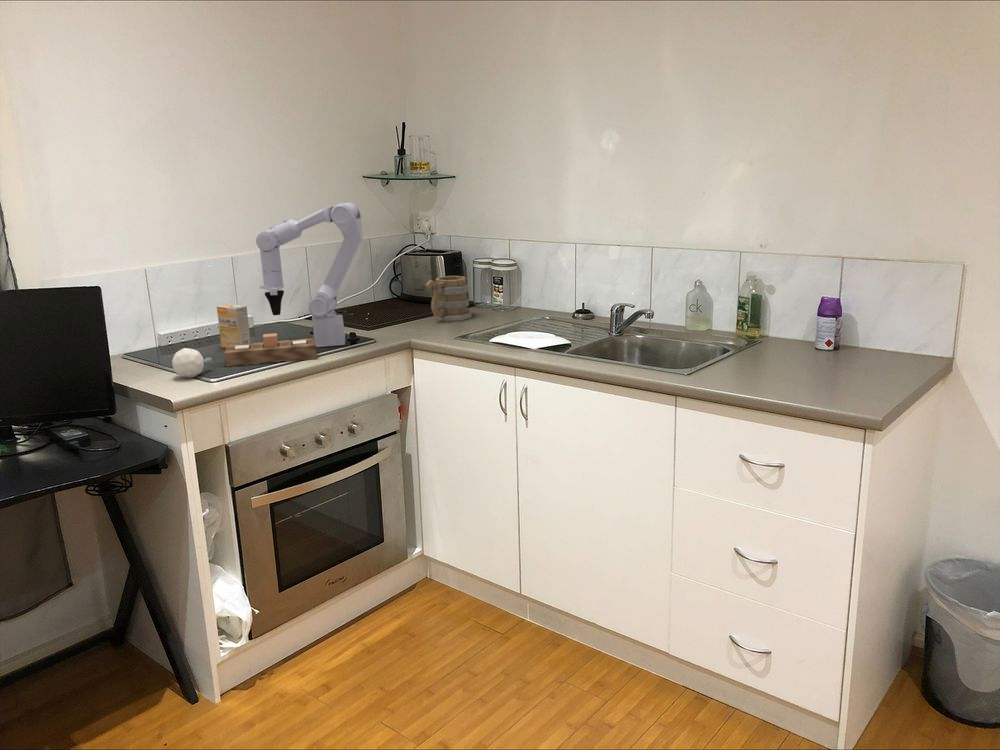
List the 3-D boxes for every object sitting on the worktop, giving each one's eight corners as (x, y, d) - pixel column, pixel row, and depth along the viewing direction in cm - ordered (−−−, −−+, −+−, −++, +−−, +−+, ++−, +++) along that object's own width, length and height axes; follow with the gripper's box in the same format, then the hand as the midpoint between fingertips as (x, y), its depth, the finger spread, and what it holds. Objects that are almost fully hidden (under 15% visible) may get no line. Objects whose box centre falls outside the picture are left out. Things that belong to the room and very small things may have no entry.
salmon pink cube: (278, 345, 235) (276, 333, 234) (278, 348, 232) (276, 335, 231) (264, 346, 234) (263, 334, 233) (264, 349, 231) (262, 337, 230)
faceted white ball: (160, 365, 215) (194, 360, 226) (179, 386, 213) (213, 379, 224) (172, 343, 212) (206, 339, 223) (191, 363, 210) (225, 358, 221)
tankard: (450, 312, 293) (448, 271, 288) (477, 316, 285) (476, 273, 281) (413, 323, 277) (410, 279, 273) (441, 326, 270) (439, 282, 266)
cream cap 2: (307, 352, 238) (305, 339, 237) (307, 355, 234) (306, 342, 233) (293, 353, 237) (292, 341, 236) (294, 356, 233) (292, 343, 232)
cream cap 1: (250, 357, 234) (249, 344, 233) (250, 360, 231) (248, 347, 230) (236, 358, 233) (235, 345, 232) (236, 361, 230) (234, 348, 229)
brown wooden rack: (315, 351, 242) (314, 337, 240) (317, 358, 232) (316, 345, 231) (228, 358, 236) (226, 345, 235) (226, 366, 226) (224, 353, 225)
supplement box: (220, 348, 249) (215, 306, 245) (232, 344, 253) (227, 303, 250) (240, 350, 245) (235, 307, 242) (252, 347, 249) (247, 305, 246)
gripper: (258, 268, 251) (263, 311, 255) (257, 274, 237) (262, 320, 241) (282, 266, 253) (286, 309, 256) (282, 273, 239) (287, 318, 243)
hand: (276, 314), depth 249 cm, fingers closed
